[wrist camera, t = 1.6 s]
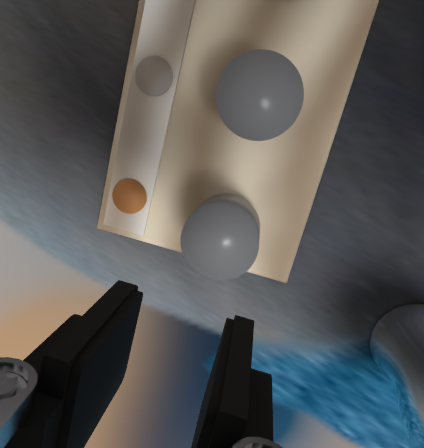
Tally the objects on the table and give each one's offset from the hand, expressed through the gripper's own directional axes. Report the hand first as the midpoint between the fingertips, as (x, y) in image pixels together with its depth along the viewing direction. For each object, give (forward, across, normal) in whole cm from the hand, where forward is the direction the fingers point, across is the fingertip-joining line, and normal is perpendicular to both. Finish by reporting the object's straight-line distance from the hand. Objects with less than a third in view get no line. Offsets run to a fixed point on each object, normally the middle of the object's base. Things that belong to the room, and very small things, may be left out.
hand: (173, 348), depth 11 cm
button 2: (+15, 0, 0) cm, 15 cm away
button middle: (+15, 0, -8) cm, 17 cm away
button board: (+17, +2, -8) cm, 19 cm away
